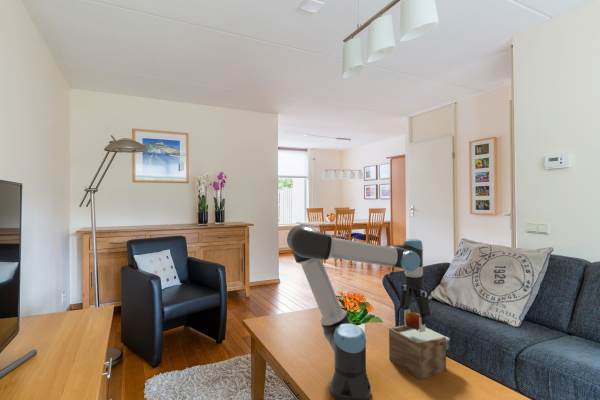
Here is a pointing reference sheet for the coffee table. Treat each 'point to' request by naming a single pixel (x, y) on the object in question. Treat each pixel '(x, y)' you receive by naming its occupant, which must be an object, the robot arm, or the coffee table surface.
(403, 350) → the brown wooden box
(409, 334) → the trapdoor
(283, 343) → the coffee table surface
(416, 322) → the fruit
